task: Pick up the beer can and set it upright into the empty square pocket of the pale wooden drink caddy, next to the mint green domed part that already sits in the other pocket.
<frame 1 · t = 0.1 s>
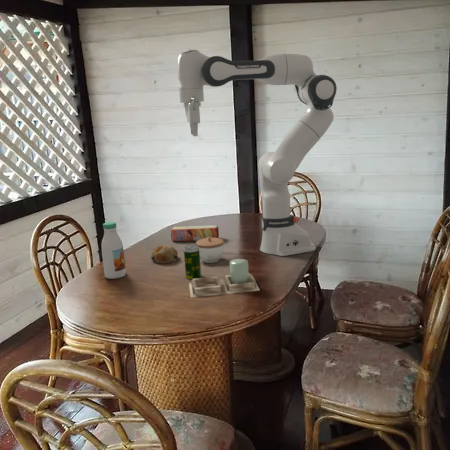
hand: (194, 135, 178), 48 cm above the table, tool pointing down, fingers open, 8 cm apart
mint green domed part: (239, 285, 155), point 1 cm above the table, touching caddy
snack package: (195, 240, 213), on the table
beer can: (193, 280, 166), on the table
lidded jar: (211, 260, 185), on the table
milk bottle: (115, 276, 174), on the table
caddy: (223, 290, 155), on the table
bread roll: (164, 260, 189), on the table
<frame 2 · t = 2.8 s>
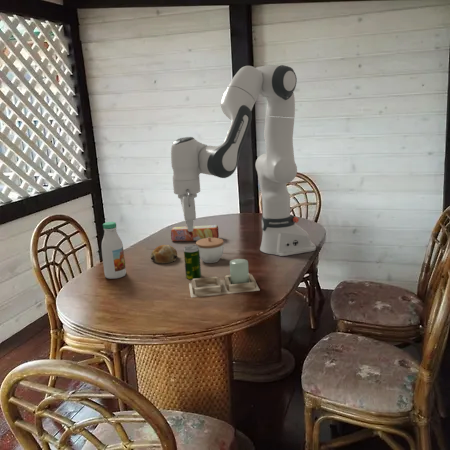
hand: (189, 227, 161), 19 cm above the table, tool pointing down, fingers open, 8 cm apart
nothing on the table moved.
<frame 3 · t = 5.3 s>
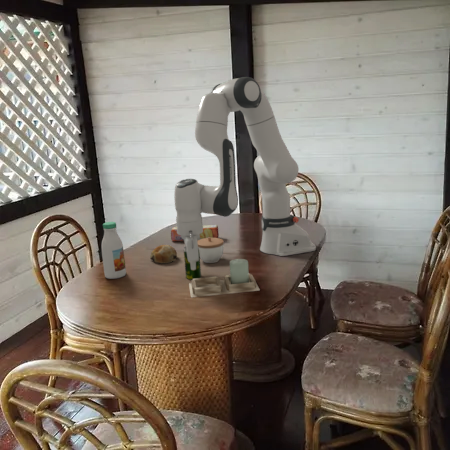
hand: (192, 265, 164), 5 cm above the table, tool pointing down, fingers closed on beer can, 5 cm apart
beer can: (193, 280, 166), on the table, touching gripper
everything else where it was.
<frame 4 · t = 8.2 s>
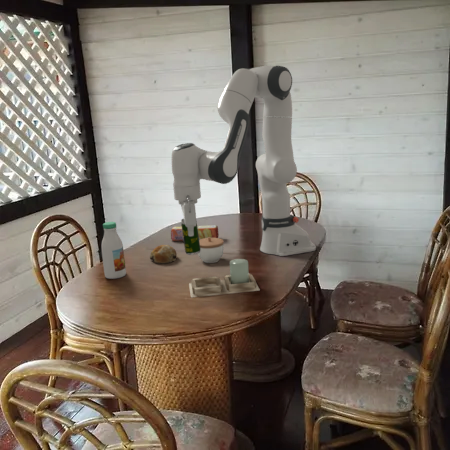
hand: (190, 233, 161), 17 cm above the table, tool pointing down, fingers closed on beer can, 5 cm apart
beer can: (193, 253, 163), point 10 cm above the table, touching gripper
everything else where it was.
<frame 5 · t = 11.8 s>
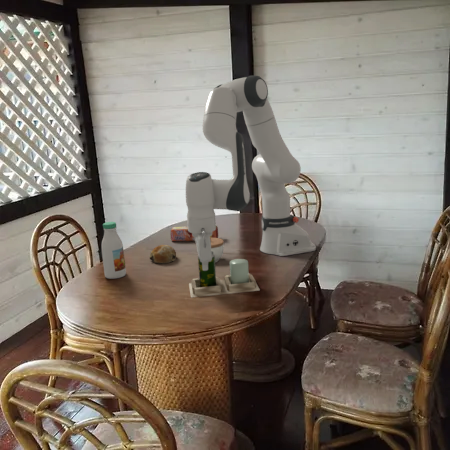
hand: (204, 266, 152), 9 cm above the table, tool pointing down, fingers closed on beer can, 5 cm apart
beer can: (208, 288, 154), point 1 cm above the table, touching caddy, gripper
everything else where it was.
when the fingers open (7 cm above the table, at t = 13.2 s): beer can stays where it is, resting on caddy.
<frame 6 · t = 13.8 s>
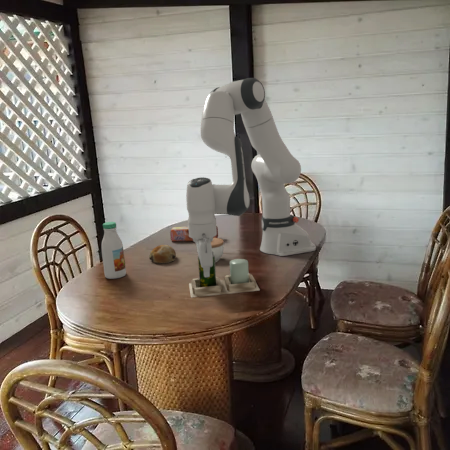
hand: (205, 271, 153), 7 cm above the table, tool pointing down, fingers open, 8 cm apart
beer can: (208, 288, 154), point 1 cm above the table, touching caddy
everything else where it was.
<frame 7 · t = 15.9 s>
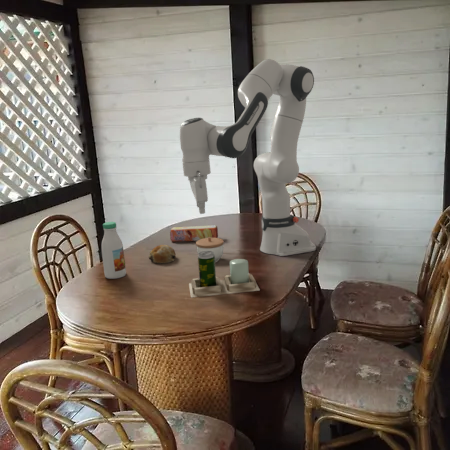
hand: (200, 210, 159), 25 cm above the table, tool pointing down, fingers open, 8 cm apart
nothing on the table moved.
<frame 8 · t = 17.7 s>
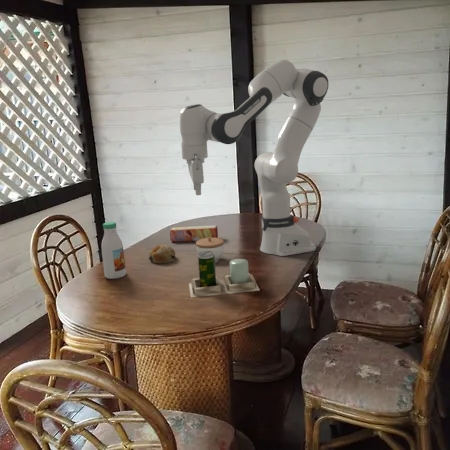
hand: (197, 192, 167), 29 cm above the table, tool pointing down, fingers open, 8 cm apart
nothing on the table moved.
at the end: beer can 0.6 cm from the target spot on the caddy, point 1.0 cm above the caddy's base; beer can tilted 0°; the gripper is holding nothing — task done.
